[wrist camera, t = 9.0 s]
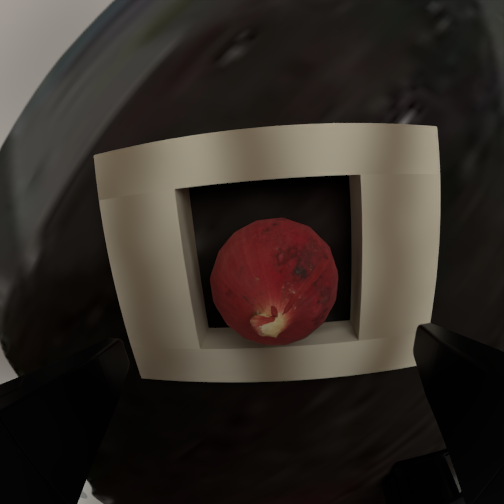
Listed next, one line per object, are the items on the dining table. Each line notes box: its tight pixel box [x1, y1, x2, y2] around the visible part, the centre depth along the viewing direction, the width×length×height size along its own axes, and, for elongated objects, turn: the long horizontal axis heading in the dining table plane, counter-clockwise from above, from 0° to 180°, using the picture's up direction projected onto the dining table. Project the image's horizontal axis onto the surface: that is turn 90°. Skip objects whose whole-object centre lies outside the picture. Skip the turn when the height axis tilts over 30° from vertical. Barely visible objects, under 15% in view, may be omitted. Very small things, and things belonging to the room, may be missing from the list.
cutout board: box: [94, 123, 440, 382], centre depth 17 cm, size 18×14×2 cm
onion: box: [210, 218, 338, 345], centre depth 14 cm, size 6×6×8 cm
